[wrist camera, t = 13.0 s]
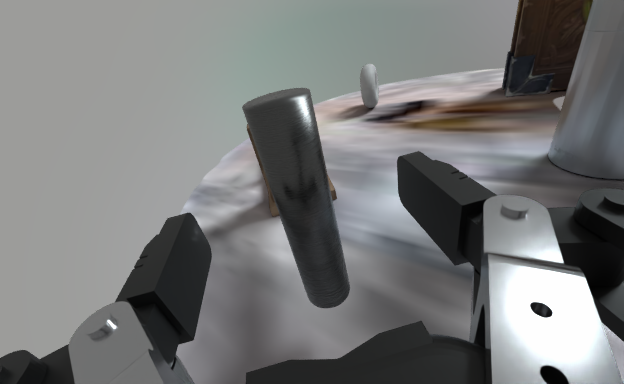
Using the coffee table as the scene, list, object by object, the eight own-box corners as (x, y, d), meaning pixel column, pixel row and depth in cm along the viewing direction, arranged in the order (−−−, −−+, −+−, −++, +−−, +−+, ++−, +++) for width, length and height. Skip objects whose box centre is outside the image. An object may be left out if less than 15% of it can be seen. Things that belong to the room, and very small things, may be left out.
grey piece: (308, 174, 33) (280, 60, 26) (355, 300, 17) (315, 96, 10) (285, 180, 33) (250, 68, 26) (310, 313, 17) (240, 115, 10)
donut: (367, 101, 71) (363, 61, 66) (380, 100, 70) (377, 58, 65) (362, 114, 63) (357, 69, 58) (376, 112, 62) (373, 66, 57)
